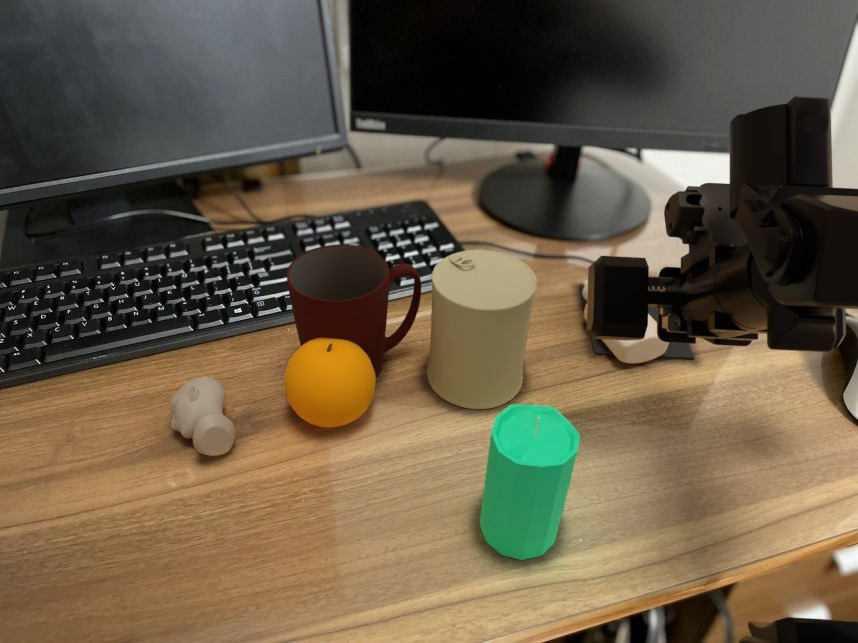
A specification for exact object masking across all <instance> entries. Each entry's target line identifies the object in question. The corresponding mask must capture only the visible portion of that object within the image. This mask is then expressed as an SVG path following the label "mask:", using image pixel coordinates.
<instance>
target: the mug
mask: <svg viewBox="0 0 858 643" xmlns="http://www.w3.org/2000/svg"><path fill="white" fill-rule="evenodd" d="M389 267H390V266H389V265H388V262H387V261H386V259H384V257H383V256H381V255H380V254H379V253H377V252H375V251H374V250H371V249H369V248H366V247H363V246H358V245H353V244H329V245H323V246H319V247H315V248H312V249H310V250H307V251H305V252H303V253H302V254H300V255H298V256H297V257H295V258H294V259H293V260H292V261H291V262H290V264H289V266H288V267H287V270H286V280H287V281H286V282H287V289H288V294H289V300H290V305H291V310H292V315H293V319H294V324H295V328H296V333H297V337H298V341H299V347H301V346H302V345H304V344H305V343H307V342H308V341H310V340H313V339H316V338H333V339H343V340H347V341H351V342H353V343H355V344H357V345H358V346H360V348H361V349H362V350H363V351H364V352H365V353H366V354H367V355H368V357H369V359H370V360H371V363H372V366H373V369H374V371H375V376H376V379H377V378H379V375H380V374H381V372H382V369H383V364H384V356H385V354H387V352H389V351H391V350H392V349H394V348H395V347H397V346H398V345H399V344H400V343H401V342H402V341H403V340H404V338H405V337H406V336H407V335H408V333H409V332H410V330H411V328H412V326H413V325H414V322H415V320H416V317H417V314H418V312H419V307H420V304H421V296H422V280H421V277H420V274H419V273H418V271H417V269H416V268H415V267H414V266H413V265H411V264H410V263H399V264H396V265H393V266H392V267H391V268H389ZM405 276H406V277H411V278H413V291H412V297H411V302H410V305H409V308H408V310H407V313H406V315H405V317H404V319H403V321H402V322H401V324H400V325H399V327H398V328H397V329H396V330H395V331H394V332H393V333H392V334H391V335H390V336H386V332H387V331H386V330H387V320H388V311H389V310H388V308H389V295H390V290H391V286H392V284H393V283H394V282H395V281H396V280H397V279H400V278H401V277H405Z"/></svg>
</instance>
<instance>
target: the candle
mask: <svg viewBox="0 0 858 643" xmlns="http://www.w3.org/2000/svg"><path fill="white" fill-rule="evenodd" d="M580 438H581V434H580V433H579V431H578V430H577V429H576V427H574V425H573V424H572V423H571V421H570V420H569V419H567V418H566V417H565V416H564V415H563V414H562V413H561V412H559V410H557V409H556V407H554V406H552V405H551V406H550V405H540V404H527V403H526V404H509V405H508V406H507V407H506V408H504V409H503V410H502V411H500V412H499V413H498V414H497V415H496V416H495V418H494V422H493V425H492V429H491V432H490V441H489V446H488V447H489V448H488V455H487V461H486V462H487V463H486V472H485V477H484V478H485V479H484V486H483V487H484V488H483V493H482V502H481V508H480V509H481V510H480V517H479V527H480V529H481V532H482V535H483V538H484V541H485V542H486V543H487V544H488V545H489V546H491V548H493V549H494V550H495V551H496V552H498V553H499V555H501V556H505V557H507V558H508V557H509V558H511V559H516V560H520V561H525V560H529V559H534V558H539V557H542V556H543V555H544V554H546V552H547V551H549V550H550V548H551V547H552V546H554V544H555V543H556V539H557V535H558V531H559V527H560V523H561V519H562V515H563V511H564V507H565V503H566V501H567V500H566V499H567V495H568V491H569V488H570V483H571V480H572V476H573V472H574V471H573V470H574V468H575V464H576V460H577V456H578V452H579V446H580Z"/></svg>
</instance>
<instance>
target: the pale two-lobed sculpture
mask: <svg viewBox="0 0 858 643" xmlns="http://www.w3.org/2000/svg"><path fill="white" fill-rule="evenodd" d="M225 402H226V390H225V388H224V385H223V384H222V383H221V382H220V381H219V380H217V379H216V378H214V377H210V376H199V377H195V378H192V379H190V380H189V381H187V382H185V383H184V384H183V385H182V386H181V387H180V388H178V390H177V391H176V392H175V394H174V395H173V396H172V398H171V400H170V406H169V410H170V413H171V422H170V428H171V430H173V431H175V432H178V433H180V434H181V436H182V437H183V438H185V439H192V445H193V447H194V450H196V451H197V452H198V453H199V454H202V455H206V456H210V457H211V456H212V457H215V456H221V455H224V454H226V453H228V452H229V451H230V450H231V448H232V447H233V445H234V442H235V439H236V428H235V425H234V422H232V420H231V419H229V418H228V417H227V416H225V414H224V412H223V410H224V407H225Z"/></svg>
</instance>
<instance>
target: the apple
mask: <svg viewBox="0 0 858 643" xmlns="http://www.w3.org/2000/svg"><path fill="white" fill-rule="evenodd" d="M283 380H284V382H283V384H284V389H285V394H286V398H287V402H288V404H289V406H291V408H292V409H293V411H294V412H295V414H296V415H297V416H298V417H299V418H301V419H302V420H304V421H305V422H306V423H309V424H310V425H314V426H316V427H320V428H337V427H340V426H346V425H348V424H350V423H352V422H355V421H356V420H357V419H359V418H360V417H361V416H362V415H363V414H364V413H365V412H366V411H367V410H368V408H369V406H370V405H371V403H372V401H373V399H374V398H375V393H376V384H377V383H376V381H377V378H376V376H375V371H374V369H373V366H372V363H371V360H370V359H369V357H368V355H367V354H366V353H365V352H364V351H363V350H362V349H361V348H360V346H358V345H357V344H355V343H353V342H351V341H347V340H343V339H333V338H316V339H313V340H310V341H308V342H307V343H305V344H304V345H302V346H299V347H298V348H297V349H296V351H294V353H293V354H292V356H291V357H290V358H289V360H288V362H287V365H286V369H285V374H284V379H283Z"/></svg>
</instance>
